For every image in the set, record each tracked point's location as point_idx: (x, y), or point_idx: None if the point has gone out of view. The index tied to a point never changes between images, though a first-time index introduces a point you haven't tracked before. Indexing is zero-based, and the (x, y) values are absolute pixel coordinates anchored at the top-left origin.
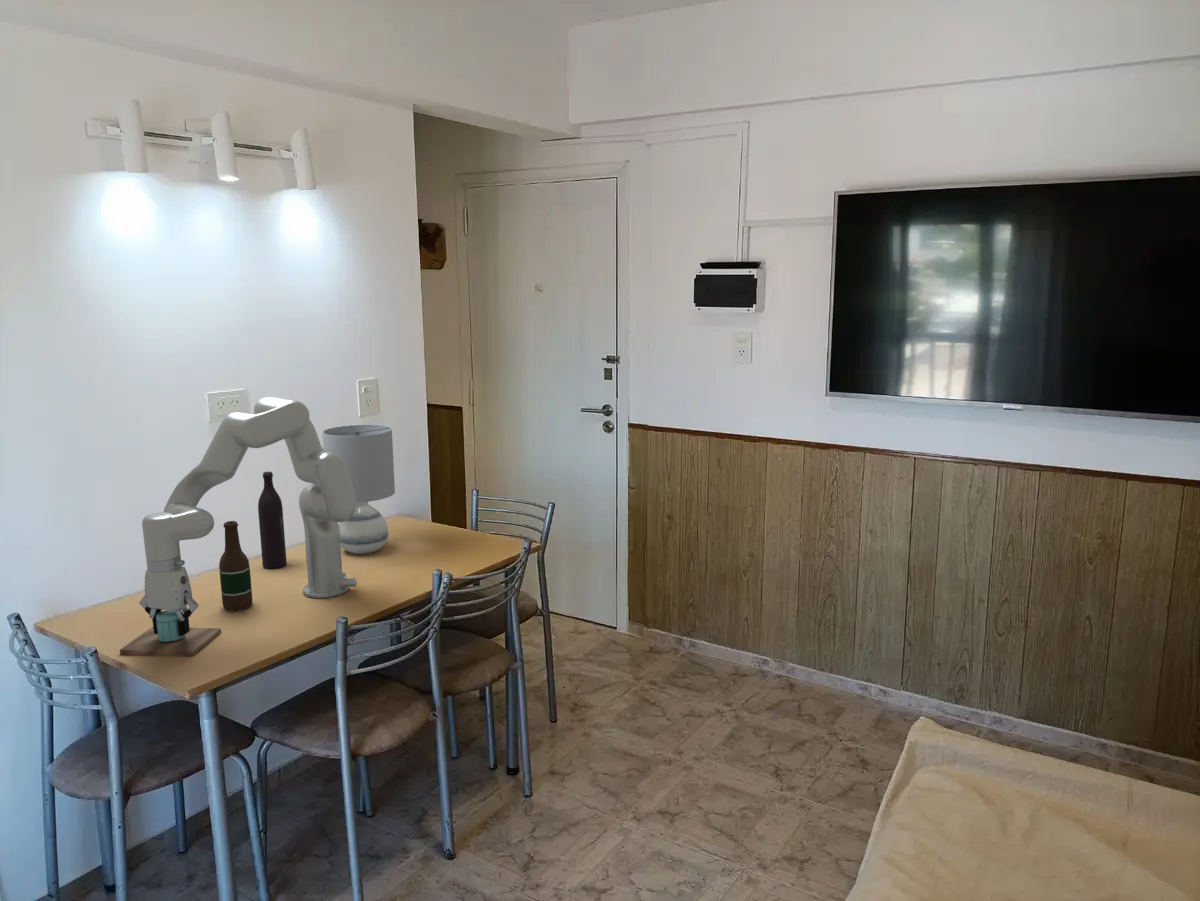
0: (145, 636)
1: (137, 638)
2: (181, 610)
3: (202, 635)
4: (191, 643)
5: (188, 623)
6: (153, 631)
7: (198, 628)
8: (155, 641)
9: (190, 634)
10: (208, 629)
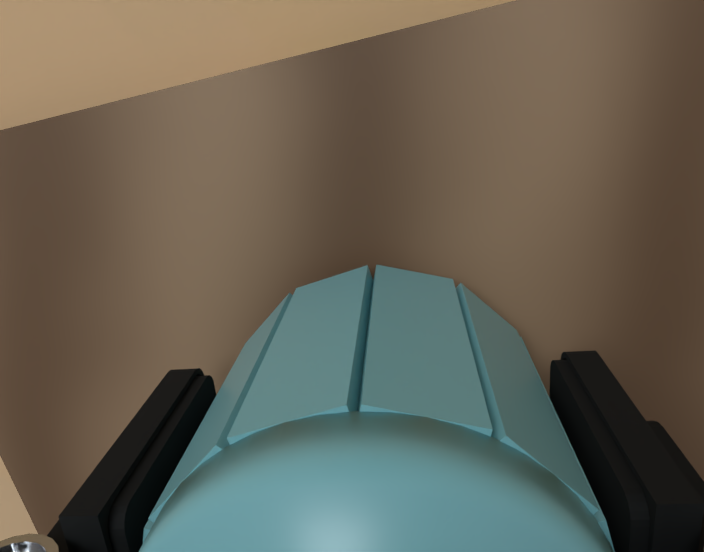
0: (52, 409)
1: (23, 465)
2: (527, 538)
3: (702, 229)
4: (700, 453)
5: (701, 491)
6: (9, 279)
7: (494, 30)
8: None
9: (518, 241)
10: (670, 18)
